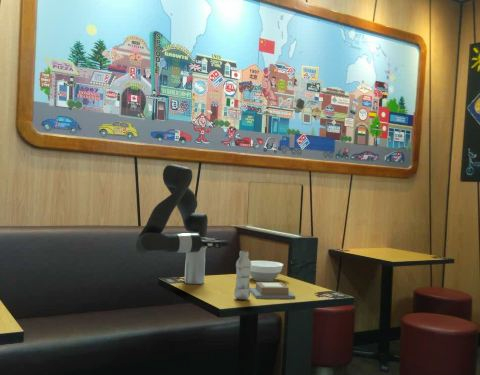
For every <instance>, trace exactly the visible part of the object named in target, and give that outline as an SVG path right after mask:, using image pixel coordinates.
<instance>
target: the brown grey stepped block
mask: <svg viewBox="0 0 480 375" xmlns="http://www.w3.org/2000/svg"><path fill="white" fill-rule="evenodd" d="M249 289H250V294H252V295H253V297H254V298H255V299H275V298H276V299H281V300H282V299H286V300H287V299H291V300H293V299H296V295H295V294H294V293H292V292H291V291H290V290H289V289H290V288H289V287H288V286H287V284H284V283H283V282H276V281H268V282H264V281H256V282H255V287H249Z"/></svg>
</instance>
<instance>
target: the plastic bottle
mask: <svg viewBox="0 0 480 375" xmlns="http://www.w3.org/2000/svg"><path fill="white" fill-rule="evenodd" d="M238 256H239V257H238V259H237V260H236V262H235V271H236V272H235V273H236V279H235V280H236V282H235V288H234V291H233V295H234V298H235V299H238V300H243V301H244V300H248V299H249V298H250V295H251V292H250V289H249V288H250V270H251V262H250V261H251V260H250V258H249V251H248V250H240V251H239V255H238Z"/></svg>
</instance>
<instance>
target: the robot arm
mask: <svg viewBox="0 0 480 375" xmlns="http://www.w3.org/2000/svg"><path fill="white" fill-rule="evenodd" d="M162 179H163V183H164V186H165V187H166V188H167V189H168V191H169V193H170V194H169V196H167V197H166V198H165V199H163V200H162V201H160V202H159V203H158V204H156V205H155V207H154V208H153V209H152V211H151V212H150V215H149V217H148V220H147V222H146V224H145V225H144V227H143V229H141V232H140V233H139V235H138V237H137V239H136V241H135V250H136V251H137V252H138V253H139V254H141V255H147V254H151V253H152V252H156V251H162V252H164V253H185V264H184V265H185V266H184V283H185V284H190V285H201V284H204V283H205V270H206V268H205V267H206V250H207V249H217V248H218V249H220V248H222V247H229V246H230V241H229V240H221V239H220V238H217V237H216V238H210V237H207V233H208V223H209V221H208V215H207V214H206V213H203V212H202V213H201V212H195V211H196V210H197V207H198V200H197V197H196V195H195V193H194V191H193V190H192V189H191V188H190V186H191V184H192V181H193V170H192V169H191V168H190V167H187V166H182V165H178V164H171V163H170V164H167V165H166V166H165V167H164V169H163V171H162ZM176 207H177V209H178V211H179V214H180V216H181V218H182V219H181V220H182V223H183V226H184V227H183V228H184V229H185V230H186V231H187V232H188V233H186V232H184V233H168V234H167V233H166V234H165V233H162V232H164V230H165V228H166V227H167V223H168V221H169V220H170V217H171V215H172V213H173V211H174V210H175V208H176Z"/></svg>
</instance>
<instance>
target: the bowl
mask: <svg viewBox="0 0 480 375" xmlns="http://www.w3.org/2000/svg"><path fill="white" fill-rule="evenodd" d="M250 262H251V270H250V276H251V278H252V280H253V281H256V282H275V279H277V278H278V276H279V275H280V273H281V272H282V269H283V266H284V263H281V262H278V261H270V260H250Z"/></svg>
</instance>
